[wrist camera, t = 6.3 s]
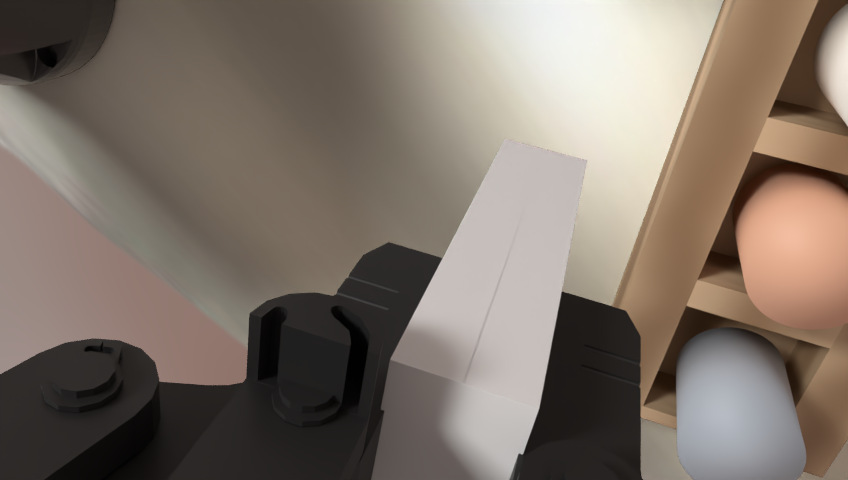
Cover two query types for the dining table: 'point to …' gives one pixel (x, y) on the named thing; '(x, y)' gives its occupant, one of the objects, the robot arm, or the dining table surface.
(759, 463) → the blue-grey cylinder
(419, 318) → the robot arm
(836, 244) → the peach cylinder
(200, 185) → the dining table surface
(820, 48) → the white cylinder
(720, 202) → the wooden peg tray
